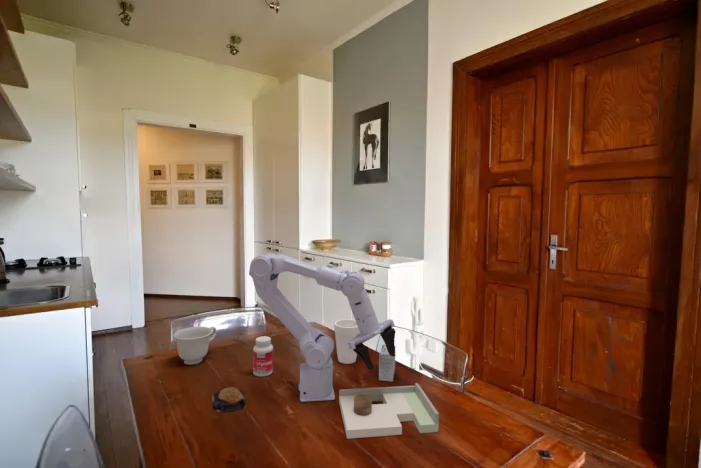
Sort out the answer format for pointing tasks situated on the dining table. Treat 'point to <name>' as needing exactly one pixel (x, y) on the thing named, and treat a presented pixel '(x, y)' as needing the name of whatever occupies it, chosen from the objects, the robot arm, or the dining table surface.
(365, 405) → the brown wooden cylinder
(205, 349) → the teacup
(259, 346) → the pill bottle
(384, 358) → the medicine box
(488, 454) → the dining table surface
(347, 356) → the foam cup
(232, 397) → the tan black low dome
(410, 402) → the box
